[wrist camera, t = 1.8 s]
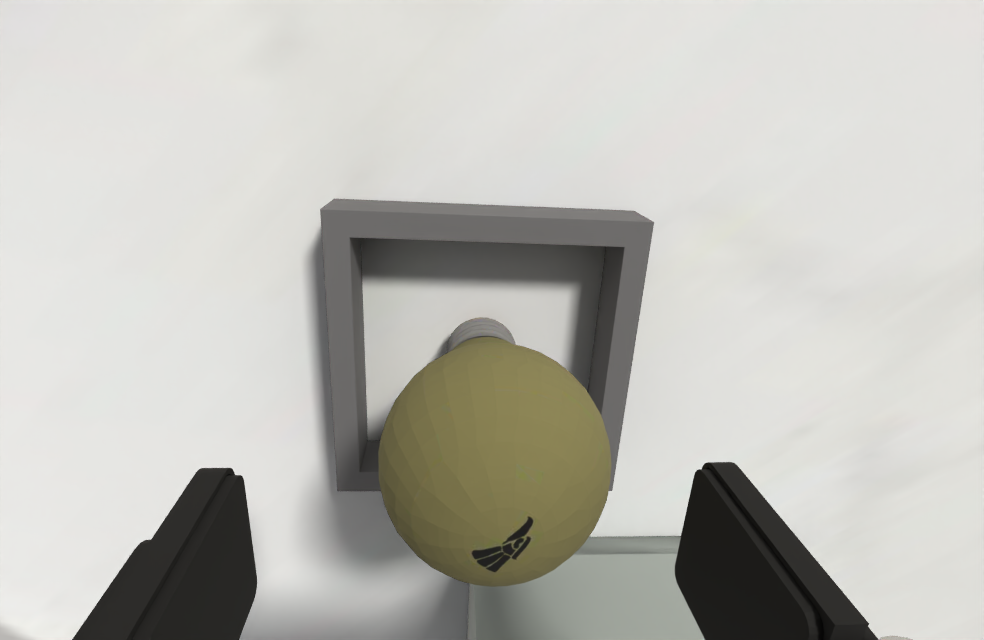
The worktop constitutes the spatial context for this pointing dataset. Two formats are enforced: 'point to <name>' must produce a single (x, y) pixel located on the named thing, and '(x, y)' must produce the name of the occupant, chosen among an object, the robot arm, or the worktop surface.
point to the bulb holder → (474, 223)
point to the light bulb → (494, 460)
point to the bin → (592, 597)
